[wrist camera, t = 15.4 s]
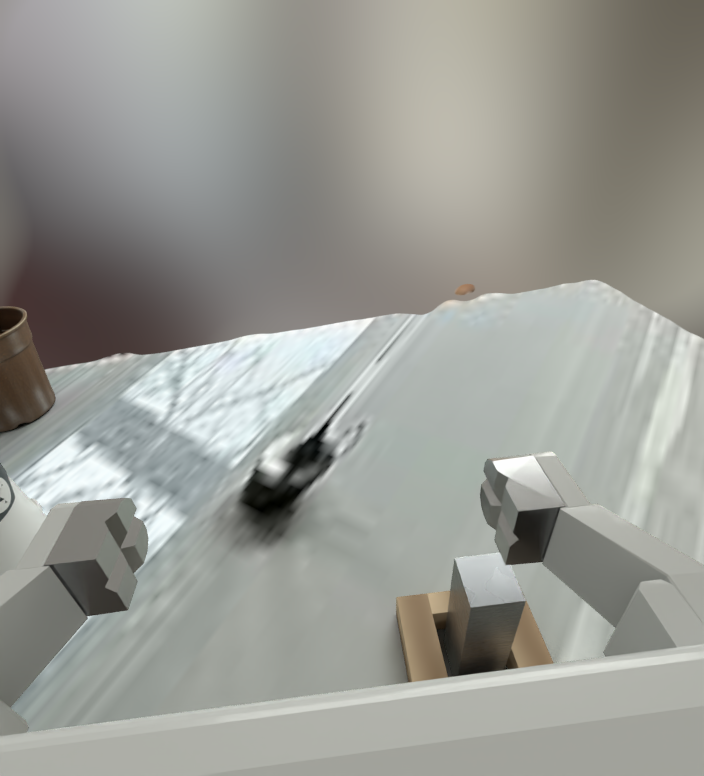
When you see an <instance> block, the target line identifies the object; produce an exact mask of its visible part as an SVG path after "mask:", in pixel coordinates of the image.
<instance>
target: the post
mask: <svg viewBox="0 0 704 776" xmlns="http://www.w3.org/2000/svg"><path fill="white" fill-rule="evenodd" d="M525 603H526V599H525V597H524V595H523V593H522V590H521V588H520V586H519V583H518V581H517V579H516V577H515V574H514V572H513V570H512V567H511V565H505V563H504V561H503V559H502V556H501V554H500V553H492V554H483V555H475V556H466V557H458V558H455V559H454V567H453V574H452V582H451V589H450V597H449V604H448V612H447V619H446V627H445V634H444V644H445V648H446V652H447V656H448V660H449V664H450V667H451V671H452V675H453V677H454V676H462V675H469V674H477V673H485V672H492V671H500V670H505V667H506V663H507V660H508V657H509V654H510V651H511V647H512V644H513V641H514V638H515V635H516V631H517V628H518V625H519V622H520V619H521V615H522V612H523V609H524V606H525Z"/></svg>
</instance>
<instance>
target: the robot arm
mask: <svg viewBox="0 0 704 776" xmlns="http://www.w3.org/2000/svg"><path fill="white" fill-rule="evenodd" d="M484 473H485V475H486V477H487V479H486V480H485V481H484V482H483V483H482V484H481V492H480V498H481V507H482V510H483V514H484V517H485V519H486V522H487V524H488V525H490V526H491V527H492V528H494V529H495V530H496V534H495V539H494V540H495V543H496V545H497V547H498V550H499V552H500V554H501V556H502V559H503V561H504V563H505V565H515V564H526V563H537V562H543V563H542V564H543V565H544V566H545V567H547V568H548V569H549V570H550V571H551V572H552V573H553V574H555V575H556V576H557V577H558V578H559V579H560V580H561V581H563V582H564V583H565V584H566V585H567V586H568V587H569V588H571V589H572V590H573V591H574V592H575V593H576V594H577V595H579V596H580V597H581V598H582V599H583V600H584V601H585V602H587V603H588V604H589V605H590V606H591V607H592V608H593V609H595V610H596V611H597V612H598V613H599V614H600V615H601V616H603V617H604V618H605V619H606V620H607V621H608V622H609V623H611V624H612V625H613V626H614V627H615V630H614V632H613V634H612V635H611V637H610V639H609V641H608V643H607V645H606V647H605V649H604V651H603V653H604V655H605V657H599V658H592V659H584V660H576V661H569V662H561V663H553V664H546V665H538V666H530V667H523V668H515V669H507V670H500V671H492V672H485V673H477V674H469V675H462V676H454V677H446V678H439V679H431V680H423V681H416V682H408V683H400V684H393V685H385V686H378V687H370V688H362V689H355V690H347V691H339V692H332V693H324V694H316V695H309V696H301V697H294V698H286V699H278V700H271V701H263V702H256V703H248V704H240V705H233V706H225V707H218V708H210V709H202V710H195V711H187V712H180V713H172V714H164V715H157V716H149V717H142V718H134V719H126V720H119V721H111V722H104V723H96V724H88V725H81V726H73V727H66V728H58V729H50V730H43V731H35V732H28V733H27V731H28V728H29V727H28V725H27V722H26V720H24V719H23V718H22V717H21V716H20V715H18V714H17V713H16V712H15V711H14V710H12V709H11V708H10V707H11V706H12V705H13V704H14V703H15V702H16V701H17V699H18V698H19V697H20V696H21V695H22V694H23V692H24V691H25V690H26V689H27V688H28V687H29V686H30V684H31V683H32V682H33V681H34V680H35V679H36V678H37V676H38V675H39V674H40V673H41V672H42V671H43V669H44V668H45V667H46V666H47V665H48V664H49V663H50V661H51V660H52V659H53V658H54V657H55V656H56V654H57V653H58V652H59V651H60V650H61V649H62V648H63V646H64V645H65V644H66V643H67V642H68V641H69V640H70V638H71V637H72V636H73V635H74V634H75V633H76V631H77V630H78V629H79V628H80V627H81V626H82V625H83V623H84V622H85V621H86V620H87V619H88V618H87V616H92V615H99V614H106V613H113V612H120V611H126V610H128V609H129V606H130V603H131V600H132V597H133V594H134V591H135V588H136V585H137V582H138V581H137V579H136V577H135V575H134V572H135V571H136V570H137V569H138V568H139V567H140V566H141V565H142V564H143V563H144V561H145V557H146V554H147V549H148V534H147V529H146V527H145V525H144V523H143V521H141V520H139V519H138V518H136V517H134V514H135V511H136V509H137V508H136V507H135V505H134V503H133V501H132V499H130V498H118V499H106V500H94V501H82V502H75V503H63V504H57V505H56V506H55V507H53V508H52V509H51V510H50V512H49V513H48V515H47V516H46V515H45V514H44V513H43V510H42V507H41V505H40V504H39V503H38V502H37V501H36V500H35V499H29V498H28V497H27V495H26V494H25V493H24V492H23V491H22V490H21V489H20V488H19V487H18V486H17V485H16V484H15V483H14V482H13V480H12V479H11V478H10V477H9V476H8V475H7V472H6V471H5V469H4V468H3V466H2V465H1V463H0V776H704V565H703V564H701V563H699V562H698V561H696V560H694V559H692V558H691V557H689V556H687V555H685V554H684V553H682V552H680V551H678V550H677V549H675V548H673V547H672V546H670V545H668V544H666V543H665V542H663V541H661V540H659V539H658V538H656V537H654V536H652V535H651V534H649V533H647V532H646V531H644V530H642V529H640V528H639V527H637V526H635V525H633V524H632V523H630V522H628V521H626V520H625V519H623V518H621V517H620V516H618V515H616V514H614V513H613V512H611V511H609V510H607V509H606V508H604V507H602V506H600V505H599V504H590V502H589V501H588V499H587V498H586V497H585V495H584V494H583V492H582V491H581V490H580V488H579V487H578V485H577V484H576V482H575V481H574V480H573V478H572V477H571V475H570V474H569V473H568V471H567V470H566V468H565V467H564V466H563V464H562V463H561V461H560V460H559V458H558V457H557V456H556V454H554V453H553V452H542V453H533V454H529V455H528V454H525V455H516V456H508V457H499V458H491V459H487V461H486V462H485V466H484Z"/></svg>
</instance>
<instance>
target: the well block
mask: <svg viewBox="0 0 704 776" xmlns="http://www.w3.org/2000/svg"><path fill="white" fill-rule="evenodd" d="M519 586H520V585H519ZM522 593H523V592H522ZM523 595H524V594H523ZM449 597H450V591H444V592H436V593H428V594H419V595H411V596H403V597H397V598H396V615H397V620H398V626H399V631H400V637H401V643H402V648H403V654H404V659H405V665H406V670H407V676H408V681H409V682H416V681H423V680H431V679H439V678H446V677H448V675H447V671H446V667H445V663H444V659H443V655H442V651H441V647H440V643H439V639H438V635H437V631H436V630H438V629H445V627H446V619H447V612H448V604H449ZM546 664H553V661H552V658H551V656H550V654H549V652H548V649H547V647H546V645H545V642H544V640H543V638H542V636H541V633H540V631H539V629H538V626H537V624H536V622H535V620H534V617H533V615H532V613H531V610H530V608H529V606H528V604H527V601H526V603H525V606H524V609H523V612H522V615H521V619H520V622H519V625H518V628H517V631H516V635H515V638H514V641H513V644H512V647H511V651H510V654H509V657H508V660H507V663H506V665H507V668H508V669H515V668H523V667H530V666H538V665H546Z"/></svg>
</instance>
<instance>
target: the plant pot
mask: <svg viewBox="0 0 704 776" xmlns="http://www.w3.org/2000/svg"><path fill="white" fill-rule="evenodd" d="M26 320H27V313H26V311H25V310H23V309H21V308H18V307H0V432H3V431H8V430H12V429H15V428H17V426H18V425H19V424H22V423H30V422H32V421H34V420H36V419H37V418H39V417H40V416H42V415H43V414H45V413H46V412H47V411H48V410H49V409H50V408H51V407H52V405H53V404H54V402H55V394H54V391H53V389H52V387H51V385H50V382H49V380H48V378H47V375H46V373H45V370H44V368H43V366H42V363H41V361H40V358H39V356H38V354H37V351H36V349H35V346H34V344H33V342H32V334H31V331H30V329H29V326H28V323H27V321H26Z"/></svg>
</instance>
